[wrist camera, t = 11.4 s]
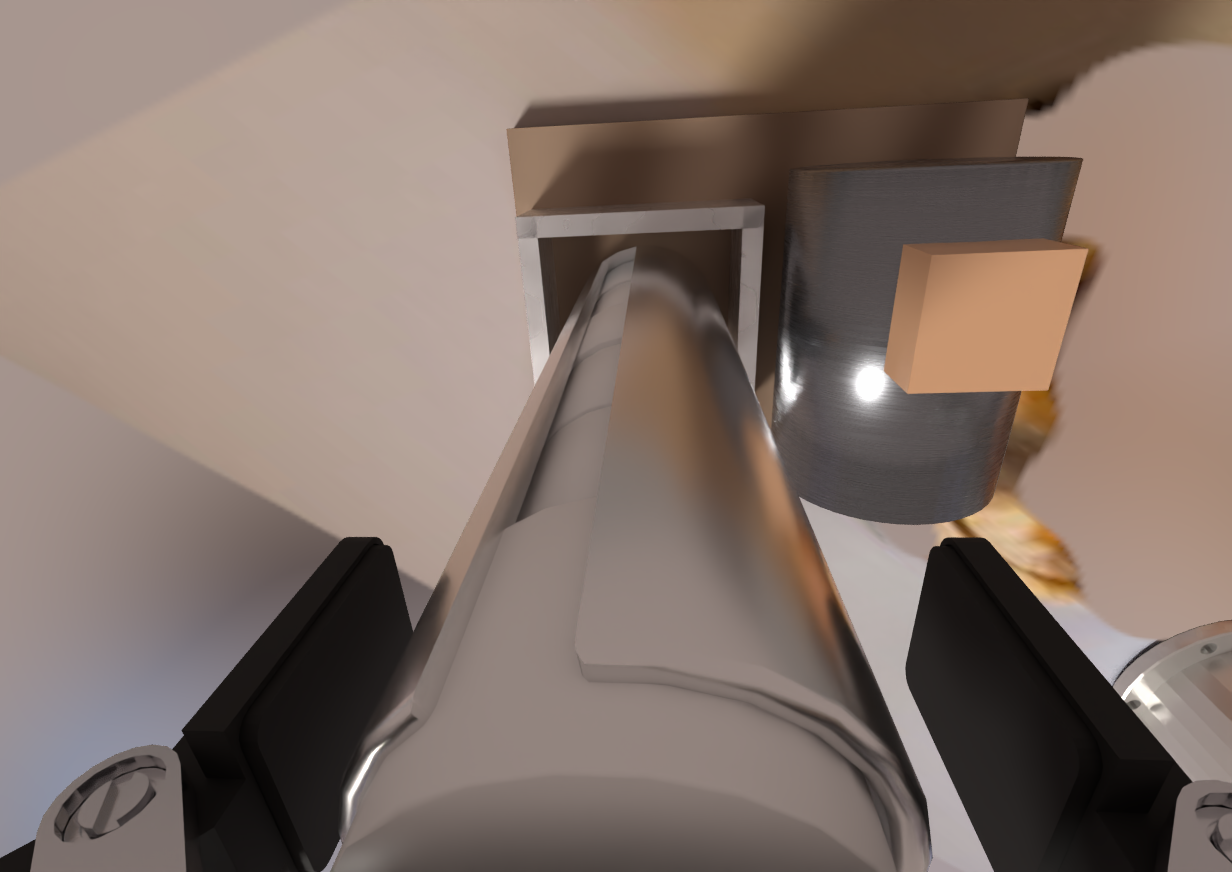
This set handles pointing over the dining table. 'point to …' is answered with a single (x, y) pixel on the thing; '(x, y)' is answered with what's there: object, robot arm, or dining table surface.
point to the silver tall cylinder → (635, 637)
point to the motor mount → (834, 276)
